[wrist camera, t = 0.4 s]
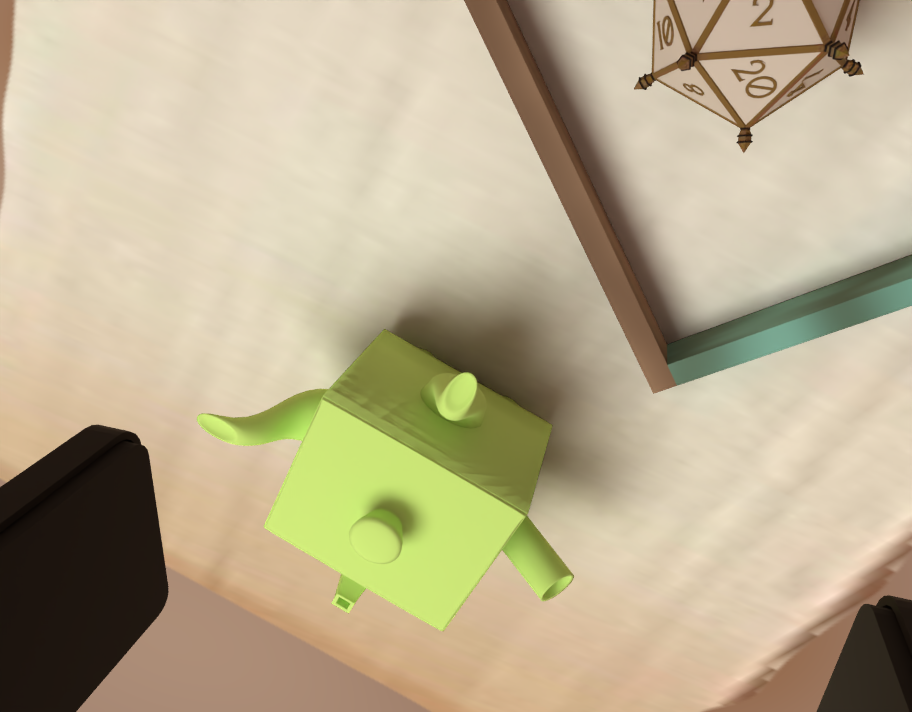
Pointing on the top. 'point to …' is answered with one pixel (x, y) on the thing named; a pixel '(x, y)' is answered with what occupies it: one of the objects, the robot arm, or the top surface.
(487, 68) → the top surface
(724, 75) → the game die
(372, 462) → the kettle
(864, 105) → the top surface
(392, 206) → the top surface
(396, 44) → the top surface
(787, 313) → the shallow open wooden box
